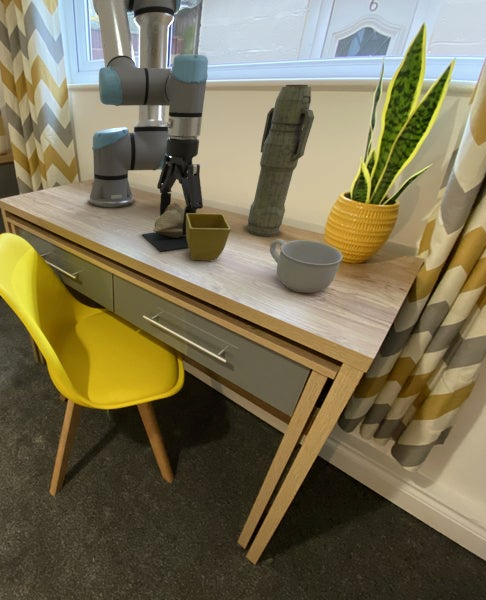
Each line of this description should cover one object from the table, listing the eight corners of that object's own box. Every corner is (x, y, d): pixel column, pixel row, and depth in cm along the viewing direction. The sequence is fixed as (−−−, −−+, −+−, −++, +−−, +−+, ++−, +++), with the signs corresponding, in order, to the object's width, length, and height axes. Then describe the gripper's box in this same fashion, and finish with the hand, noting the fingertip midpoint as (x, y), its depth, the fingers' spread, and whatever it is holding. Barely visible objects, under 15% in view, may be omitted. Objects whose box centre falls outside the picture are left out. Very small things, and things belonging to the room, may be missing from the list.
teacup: (341, 294, 65) (357, 257, 60) (298, 304, 61) (311, 265, 57) (290, 264, 76) (300, 231, 71) (250, 271, 73) (258, 237, 68)
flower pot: (181, 246, 82) (185, 212, 77) (216, 247, 82) (223, 213, 77) (185, 264, 75) (190, 228, 70) (223, 265, 75) (231, 229, 70)
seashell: (161, 226, 80) (168, 189, 82) (142, 237, 88) (150, 203, 90) (207, 246, 85) (213, 211, 87) (185, 254, 94) (191, 222, 96)
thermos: (272, 240, 88) (312, 84, 69) (235, 228, 96) (263, 84, 77) (290, 233, 92) (332, 85, 74) (254, 222, 100) (284, 85, 82)
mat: (141, 235, 90) (141, 234, 90) (193, 228, 95) (193, 227, 95) (160, 252, 81) (160, 250, 81) (216, 244, 86) (216, 242, 85)
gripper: (147, 131, 85) (144, 212, 97) (196, 145, 66) (185, 244, 77) (173, 130, 87) (167, 209, 99) (228, 144, 68) (212, 240, 80)
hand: (175, 225), depth 88 cm, fingers open, 13 cm apart
